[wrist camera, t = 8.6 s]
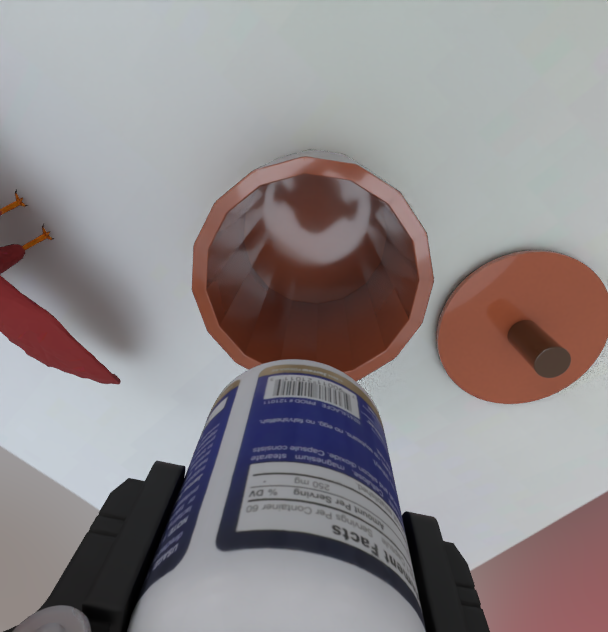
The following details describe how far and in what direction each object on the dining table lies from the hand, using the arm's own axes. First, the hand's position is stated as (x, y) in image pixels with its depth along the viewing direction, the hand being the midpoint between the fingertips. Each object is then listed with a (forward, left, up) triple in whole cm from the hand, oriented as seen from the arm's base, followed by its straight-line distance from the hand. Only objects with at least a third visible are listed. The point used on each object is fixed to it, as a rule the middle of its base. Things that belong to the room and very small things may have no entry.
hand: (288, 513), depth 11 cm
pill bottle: (0, 0, -4) cm, 4 cm away
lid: (+11, +16, -26) cm, 32 cm away
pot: (-1, +1, -26) cm, 26 cm away
